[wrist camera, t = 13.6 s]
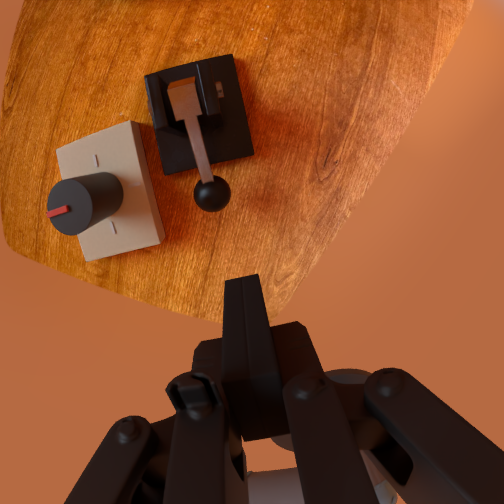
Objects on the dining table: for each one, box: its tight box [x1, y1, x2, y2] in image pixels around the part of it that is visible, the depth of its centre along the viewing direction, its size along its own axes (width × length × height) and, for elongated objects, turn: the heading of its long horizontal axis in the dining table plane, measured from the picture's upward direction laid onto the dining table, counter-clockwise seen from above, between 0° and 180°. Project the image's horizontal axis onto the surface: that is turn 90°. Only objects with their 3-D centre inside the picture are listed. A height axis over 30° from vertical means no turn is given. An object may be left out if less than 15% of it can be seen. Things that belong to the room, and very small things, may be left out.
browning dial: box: [46, 172, 124, 235], centre depth 26 cm, size 5×5×8 cm
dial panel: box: [56, 120, 166, 262], centre depth 32 cm, size 14×10×3 cm
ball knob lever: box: [167, 76, 231, 212], centre depth 25 cm, size 13×4×4 cm, turn 12°
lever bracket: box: [144, 54, 254, 176], centre depth 25 cm, size 12×10×12 cm
